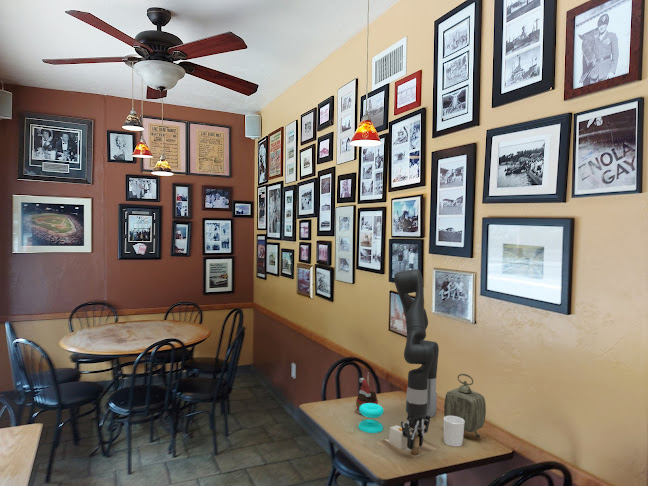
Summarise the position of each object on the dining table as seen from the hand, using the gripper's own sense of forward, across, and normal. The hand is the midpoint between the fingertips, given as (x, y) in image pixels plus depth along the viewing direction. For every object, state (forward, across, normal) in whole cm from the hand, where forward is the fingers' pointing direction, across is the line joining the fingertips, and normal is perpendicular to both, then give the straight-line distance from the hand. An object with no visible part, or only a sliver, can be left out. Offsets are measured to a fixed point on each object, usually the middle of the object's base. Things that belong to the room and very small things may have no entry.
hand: (414, 446), depth 159 cm
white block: (+2, 0, -8) cm, 8 cm away
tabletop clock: (+4, -31, -1) cm, 31 cm away
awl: (+2, 0, 0) cm, 2 cm away
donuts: (+4, -2, -25) cm, 25 cm away
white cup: (+4, -20, +2) cm, 20 cm away
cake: (+4, -14, -40) cm, 43 cm away
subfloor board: (+4, -3, -6) cm, 8 cm away
